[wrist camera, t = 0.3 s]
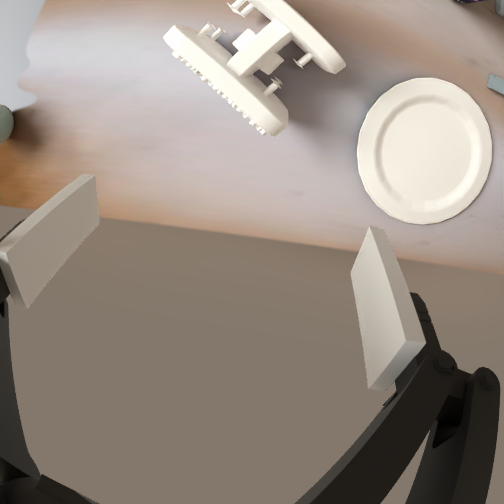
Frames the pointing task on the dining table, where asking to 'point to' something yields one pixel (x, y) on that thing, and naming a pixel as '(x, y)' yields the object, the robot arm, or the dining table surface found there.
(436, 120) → the plate
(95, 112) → the dining table surface
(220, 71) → the cable organizer
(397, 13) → the dining table surface
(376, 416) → the robot arm
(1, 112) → the cup
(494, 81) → the l-shaped desk stand
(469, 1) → the beverage can
